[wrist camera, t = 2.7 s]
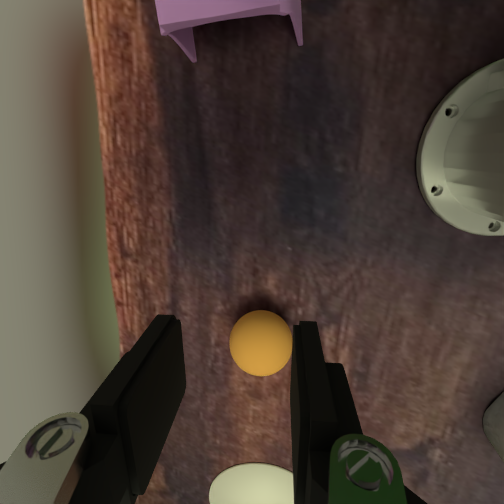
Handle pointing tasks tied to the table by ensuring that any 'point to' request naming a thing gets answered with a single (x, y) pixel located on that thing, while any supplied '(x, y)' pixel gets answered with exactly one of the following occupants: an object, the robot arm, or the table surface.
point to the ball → (261, 343)
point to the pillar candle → (495, 425)
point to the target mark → (253, 485)
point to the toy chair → (218, 16)
